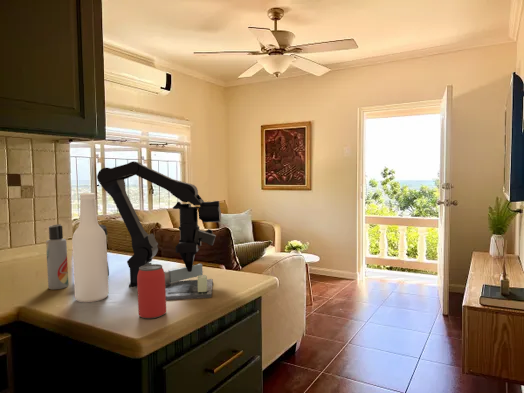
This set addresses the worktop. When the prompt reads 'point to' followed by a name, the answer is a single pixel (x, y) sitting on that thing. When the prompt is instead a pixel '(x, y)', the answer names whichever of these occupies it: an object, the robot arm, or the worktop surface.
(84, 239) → the alcohol
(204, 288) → the fader knob
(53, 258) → the lotion bottle
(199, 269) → the door
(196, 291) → the console
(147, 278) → the beer can
